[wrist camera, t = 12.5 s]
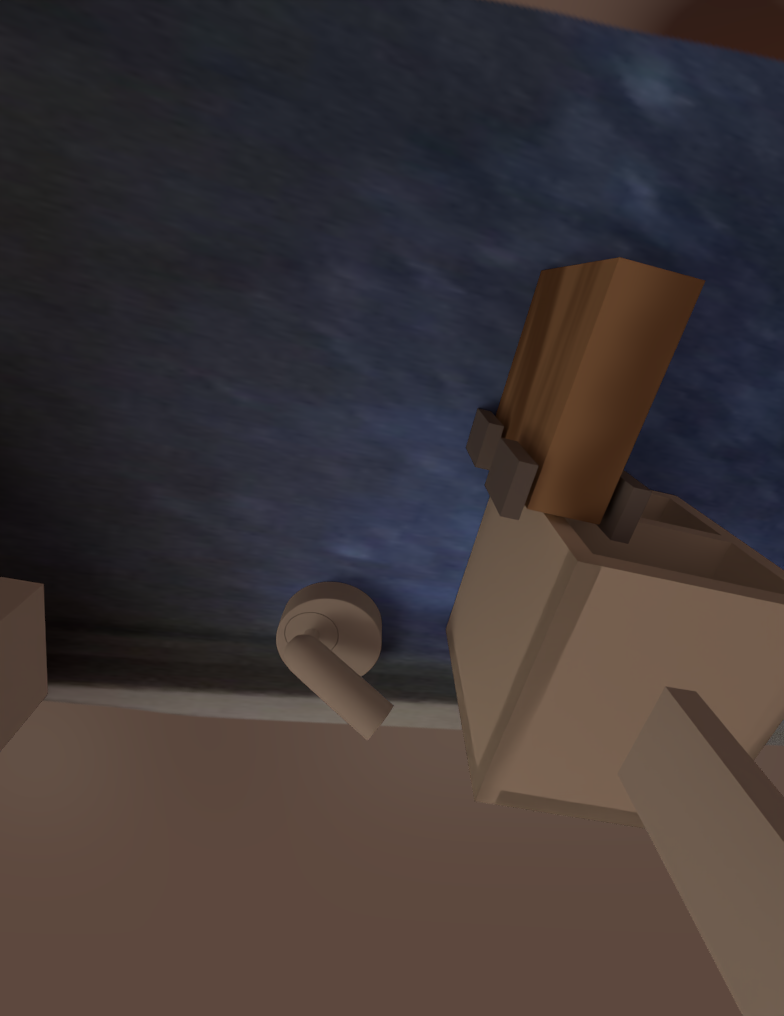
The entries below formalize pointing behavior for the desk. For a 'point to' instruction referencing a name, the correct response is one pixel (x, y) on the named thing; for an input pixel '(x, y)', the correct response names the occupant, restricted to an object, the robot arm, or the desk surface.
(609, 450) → the door
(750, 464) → the desk surface
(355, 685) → the wall hook
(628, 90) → the desk surface
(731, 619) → the cabinet
